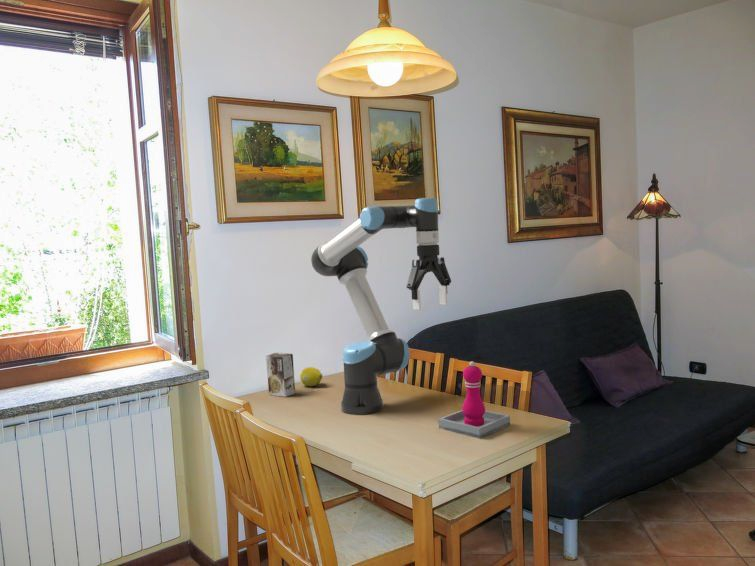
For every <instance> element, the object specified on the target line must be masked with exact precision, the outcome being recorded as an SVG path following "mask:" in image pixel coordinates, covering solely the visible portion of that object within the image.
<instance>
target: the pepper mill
mask: <svg viewBox="0 0 755 566" xmlns="http://www.w3.org/2000/svg"><path fill="white" fill-rule="evenodd" d="M462 377H463V379H464V380H465V381H464V386H465V388H466V395H465V400H464V401H463V404H462V406H461V408H462V409H461V410H462V412H463V414H464V415H465V416H466V417H465V418H464V423H465V424H467V425H472V426H481V425H483V424H484V417H482V416H483V415H484V413H485V410H486V405H485V403H484V401H483V399H482V397H481V393H480V387H481V383H482V382H481V379H482V378H483V371H482V370H481V368H480V367H478V366H477V365H476V363H475V362H474V361H470V362H469V365H468V366H467V367H465V368H464V369H463V372H462Z"/></svg>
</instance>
